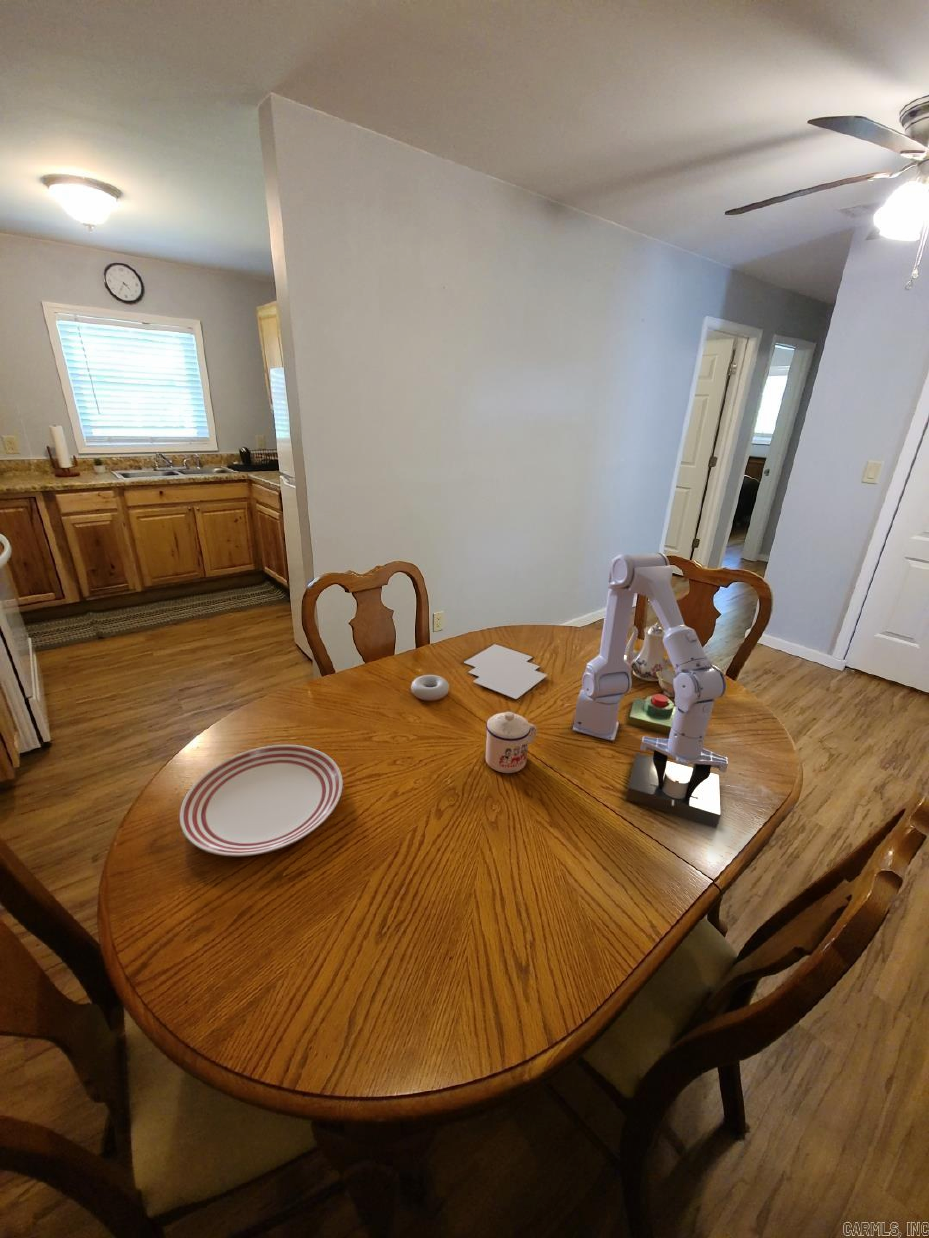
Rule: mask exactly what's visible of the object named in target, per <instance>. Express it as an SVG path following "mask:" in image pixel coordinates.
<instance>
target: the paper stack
mask: <svg viewBox="0 0 929 1238" xmlns="http://www.w3.org/2000/svg"><path fill="white" fill-rule="evenodd" d="M532 659H533V656H531V655H528V654H525V653H523V652H519V651H517V650H514V649H510V648H508V647H505V646H502V645H499V644H496V643H494V644H492V645H491V646H489V647H487V648H486V649H484V650H482V651H480V652H479V653H477V654H475V655H473V656H472V657H470V658H468V659H467V660H465V661H463V663H464V664H466V665H468V666H471V667H474V668H472V669H470V670H469V671H468V672H467V673H468V674H471V675H474V676H476V677H477V678H475V679H474V680H473V681H472V683H475V684H478V685H479V686H482V687H485V688H488V689H490V690H492V691H494V692H496V693H497V692H498V693H499V694H502V695H504V696H507V697H510V698H512V699H515V700H517V699H519V698H520V697H521V696H523V695H524V694H525V693H526V692H528V691H529V690H531V689H532V688H533V687H534V686H535V685H537V684H538V683H540V682H541V681H542V680H544V679H545V678H546V677H548V674H547V673H543V672H541V671H538V670H537V669H538V668H540V667H541V666H540V665H537V664H534V663H532V662H529V661H530V660H532Z"/></svg>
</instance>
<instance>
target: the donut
mask: <svg viewBox="0 0 929 1238" xmlns="http://www.w3.org/2000/svg"><path fill="white" fill-rule="evenodd" d="M410 691H411V693H412V695H413V696H414V697H415V698H417V699H419V700H422V701H428V702H432V701H438V700H441V699H443V698H445V697H446V696H447V695H448V693H449V692H450V684H449V682H448V680H446V678H444V677H442V676H440V675H436V674H424V675H420V676H418V677H415V679H414V680H413V681H412V682H411V685H410Z"/></svg>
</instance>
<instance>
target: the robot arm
mask: <svg viewBox="0 0 929 1238" xmlns="http://www.w3.org/2000/svg"><path fill="white" fill-rule="evenodd" d="M608 572H609V573H608V579H607V586H606V587H607V588H608V590H607V598H606V604H605V612H604V617H603V618H604V619H603V626H602V631H601V640H600V647H599V651H600V653H599V652H598V653H599V655H598V656H595V657H593V658H592V659H591V660H590V661H588V662H587V663H586V667H585V671H584V673H583V675H582V677H581V687H582V689H580V691H579V694H578V696H577V701H576V707H575V713H574V723H573V727H572V731H573V732H576V733H577V732H578V733H582V734H585V735H588V736H592V737H595V738H600V739H603V740H607V741H610V742H614V741H615V739H616V735H617V732H618V729H619V724H620V722H619V721H618V716H619V710H620V704H621V700H622V699H624V697H625V694H628V693H629V692H630V691H631V689H632V685H633V684H632V683H633V679H632V667H631V665H630V663H629V662H628V661H625V660H624V655H625V649H626V645H627V643H628V638H629V637H628V636H629V631H630V630H629V629H630V623H631V618H632V611H633V605H634V598H635V594H637V595H640V596H643V597H646V598H647V599H648V602H649V604H650V605H651V607H652V609H653V611H654V613H655V615H656V616H657V619H658V620H659V622H660V624H661V627H662V629H664V630H665V635H664V638H663V644H664V650H665V651H666V653H667V656H668V659H670V660H669V661H671V663H672V665H673V666H672V667H673V670H674V671H675V673H676V675H677V677H676V679H675V678H674V680H673V686H674V690H675V697H674V700H673V701H674V706H675V707H676V709H675V713H674V718H673V722H672V726H671V731H670V735H669V734H668V738H664V737H663V738H662V737H649V736H645V735H643V736H642V739H641V743H640V749H639V750H640V751H643V752H647V751H651V752H653V755H652V757H653V763H654V766H655V768H656V771H657V776H658V788H659V789H662V786H663V778H664V773H665V769H666V766H667V761H668V757H669V758H671V759H673V760H675V762H676V764H680V765H683V766H687V767H690V764H691V765H692V764H693V767H692V768H693V770H692V775H691V777H690V783H689V787H688V790H687V797H691V795H692V794H693V792H694V790H695V789H696V788H697V787H698V786H699V785H700V784H701V783H702V782H703V781H704V780H706V779H707V778H708V777H709V776H710V773H712V768H715V769H718V771H719V772H721V773H726V772H727V768H728V766H729V759H728V757H727V756H724V755H721V754H718V753H715V752H713V751H711V750H709V749H706V748H704V744H705V739H706V736H707V732H708V728H709V724H710V720H711V717H712V714H713V713H712V712H713V708H714V705H715V702H716V700H717V699H720V698H722V697H723V696H724V695H725V693H726V691H727V680H726V677H725V674H724V671H722V669H720V668H719V667H718V666H716V665H715V664H714V662H713V661H712V660H710V659H708V657H707V655H706V652H705V651H704V648H703V646H702V644H701V641H700V639H699V636H698V635H697V632H696V630H695V629H694V628H691V627H689V626H687V625H686V624H685V622H684V619H683V616H682V613H681V610H680V607H679V605H678V602H677V599H676V597H675V593H674V591H673V588H672V585H671V580H672V577H673V572H674V571H673V569H672V567H671V564H670V560H669V559H668V557H667V555H666V554H664V553H663V552H660V551H659V552H658V551H657V552H653V553H650V552H649V553H635V554H633V553H632V554H625V553H623V554H618V555H617V556H615V557H613V559H611V560H610V564H609V571H608Z"/></svg>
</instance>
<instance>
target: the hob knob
mask: <svg viewBox="0 0 929 1238" xmlns="http://www.w3.org/2000/svg"><path fill="white" fill-rule="evenodd" d="M689 783H690V776H689V775H688V774H687V773H686V772H685V771H683V770H681V769H678V768H668V769H667V770H666V771H665V775H664V779H663V786H662V790H663V792H664V793H665V794H666V795H668V796H670V797H672V798H676V799H682V798H684V797H685V796H686V794H687V790H688V787H689Z"/></svg>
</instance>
